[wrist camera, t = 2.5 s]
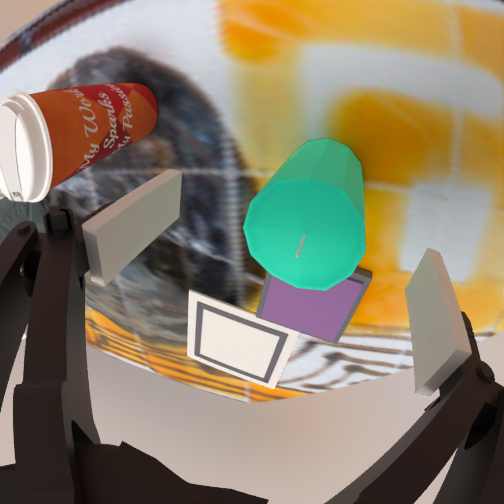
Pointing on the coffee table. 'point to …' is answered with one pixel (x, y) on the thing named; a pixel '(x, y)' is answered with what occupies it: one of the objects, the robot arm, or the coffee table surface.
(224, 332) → the marked card
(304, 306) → the ink pad
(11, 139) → the paper cup
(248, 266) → the coffee table surface
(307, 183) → the candle
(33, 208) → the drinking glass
